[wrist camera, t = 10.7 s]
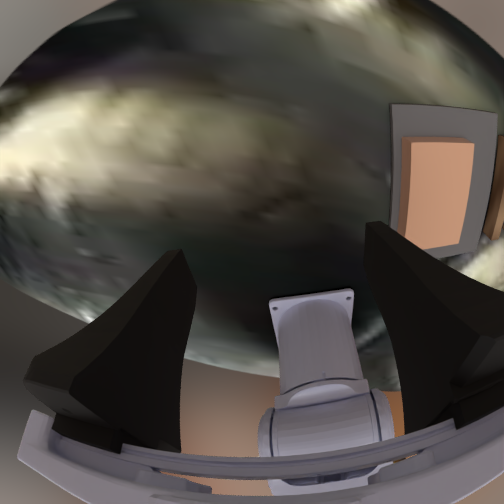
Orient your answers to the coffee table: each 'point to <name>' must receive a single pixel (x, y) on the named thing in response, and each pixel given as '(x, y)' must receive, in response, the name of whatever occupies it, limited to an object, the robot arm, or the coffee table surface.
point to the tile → (434, 189)
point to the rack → (496, 197)
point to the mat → (447, 125)
